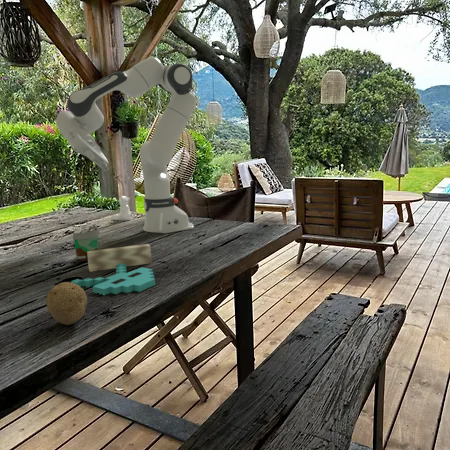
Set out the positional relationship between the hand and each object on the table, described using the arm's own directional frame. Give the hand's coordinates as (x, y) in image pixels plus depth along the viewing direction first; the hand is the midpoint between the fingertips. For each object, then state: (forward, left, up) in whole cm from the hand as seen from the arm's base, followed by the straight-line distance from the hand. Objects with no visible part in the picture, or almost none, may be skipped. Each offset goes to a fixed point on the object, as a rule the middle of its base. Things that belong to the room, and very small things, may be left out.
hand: (100, 164), depth 174 cm
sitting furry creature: (-17, -44, -31) cm, 56 cm away
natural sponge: (+21, +73, -31) cm, 82 cm away
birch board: (+1, +34, -31) cm, 46 cm away
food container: (+8, +18, -31) cm, 37 cm away
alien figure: (+4, +50, -32) cm, 59 cm away
